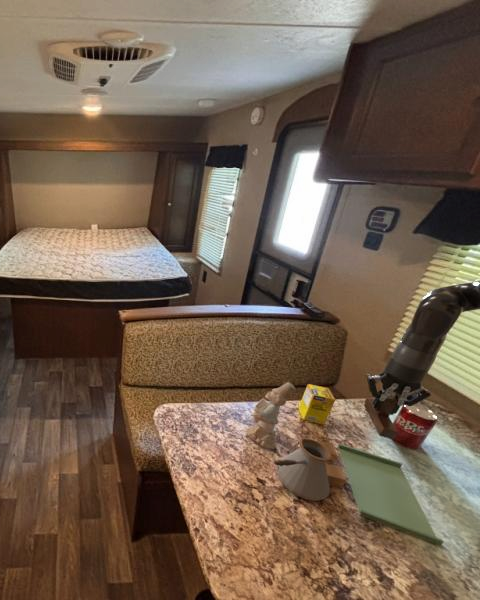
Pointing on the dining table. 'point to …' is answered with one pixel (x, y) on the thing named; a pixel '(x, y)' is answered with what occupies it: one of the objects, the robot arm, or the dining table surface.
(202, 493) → the dining table surface
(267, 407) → the figurine
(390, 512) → the tray
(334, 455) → the cork cube
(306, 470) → the coffee pot
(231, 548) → the dining table surface
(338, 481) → the cork cube
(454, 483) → the dining table surface
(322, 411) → the supplement box
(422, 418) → the soda can
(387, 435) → the brown wooden t-shape
